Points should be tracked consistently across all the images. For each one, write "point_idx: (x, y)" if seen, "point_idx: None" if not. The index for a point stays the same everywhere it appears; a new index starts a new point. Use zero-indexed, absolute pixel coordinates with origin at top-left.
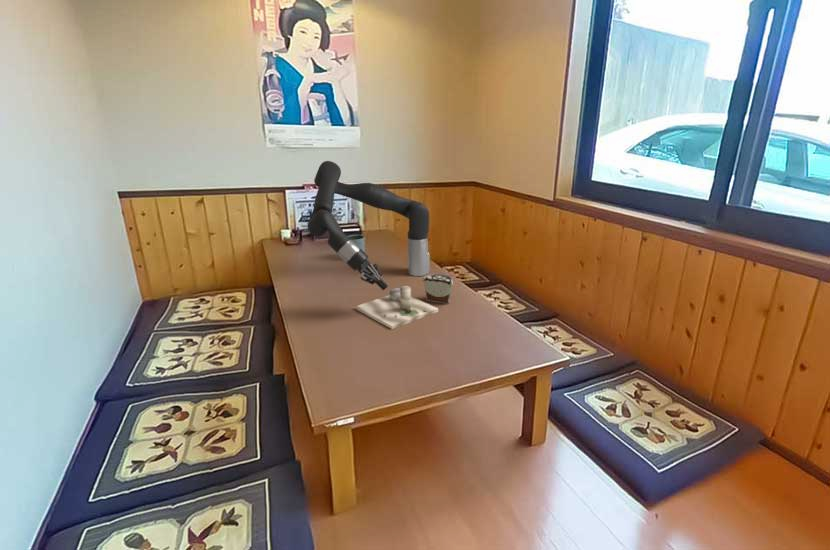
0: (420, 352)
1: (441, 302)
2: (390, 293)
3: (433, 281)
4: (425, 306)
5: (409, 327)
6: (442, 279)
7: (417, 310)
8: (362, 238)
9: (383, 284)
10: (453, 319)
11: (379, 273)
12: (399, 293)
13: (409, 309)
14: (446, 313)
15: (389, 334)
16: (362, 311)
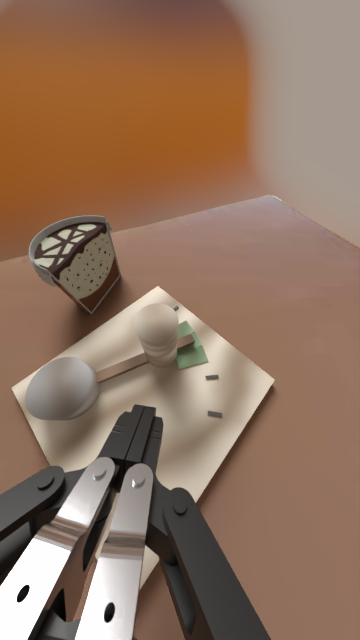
0: (339, 313)
1: (112, 285)
2: (70, 413)
3: (76, 258)
4: None
5: (247, 340)
6: (77, 236)
7: None
8: None
9: (150, 429)
10: (193, 268)
11: (36, 499)
12: (88, 372)
13: (186, 338)
14: (167, 278)
15: (299, 384)
16: None
